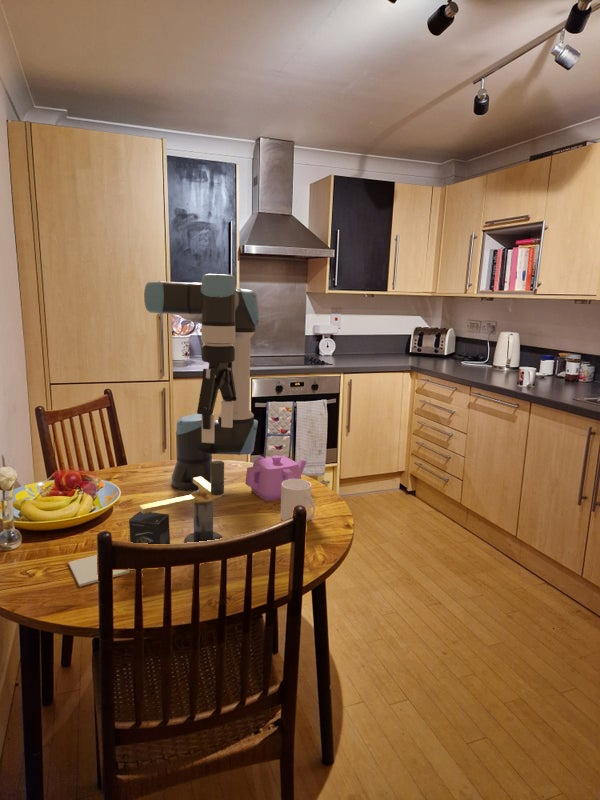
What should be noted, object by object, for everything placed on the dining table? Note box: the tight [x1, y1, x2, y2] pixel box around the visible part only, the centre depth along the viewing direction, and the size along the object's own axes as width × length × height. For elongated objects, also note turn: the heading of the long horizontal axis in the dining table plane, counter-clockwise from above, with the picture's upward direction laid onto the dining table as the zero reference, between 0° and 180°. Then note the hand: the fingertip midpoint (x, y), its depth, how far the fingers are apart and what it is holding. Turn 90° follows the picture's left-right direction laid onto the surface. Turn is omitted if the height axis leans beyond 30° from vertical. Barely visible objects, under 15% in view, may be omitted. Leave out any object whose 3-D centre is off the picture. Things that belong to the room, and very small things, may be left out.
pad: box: [68, 554, 131, 588], centre depth 120 cm, size 11×11×1 cm
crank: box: [138, 460, 225, 514], centre depth 125 cm, size 14×19×12 cm
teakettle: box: [245, 455, 307, 502], centre depth 168 cm, size 17×17×12 cm
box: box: [128, 510, 171, 545], centre depth 125 cm, size 8×6×11 cm
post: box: [183, 501, 224, 544], centre depth 133 cm, size 10×10×12 cm
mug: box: [280, 478, 316, 522], centre depth 148 cm, size 9×12×11 cm
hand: (218, 434), depth 121 cm, fingers open, 13 cm apart
